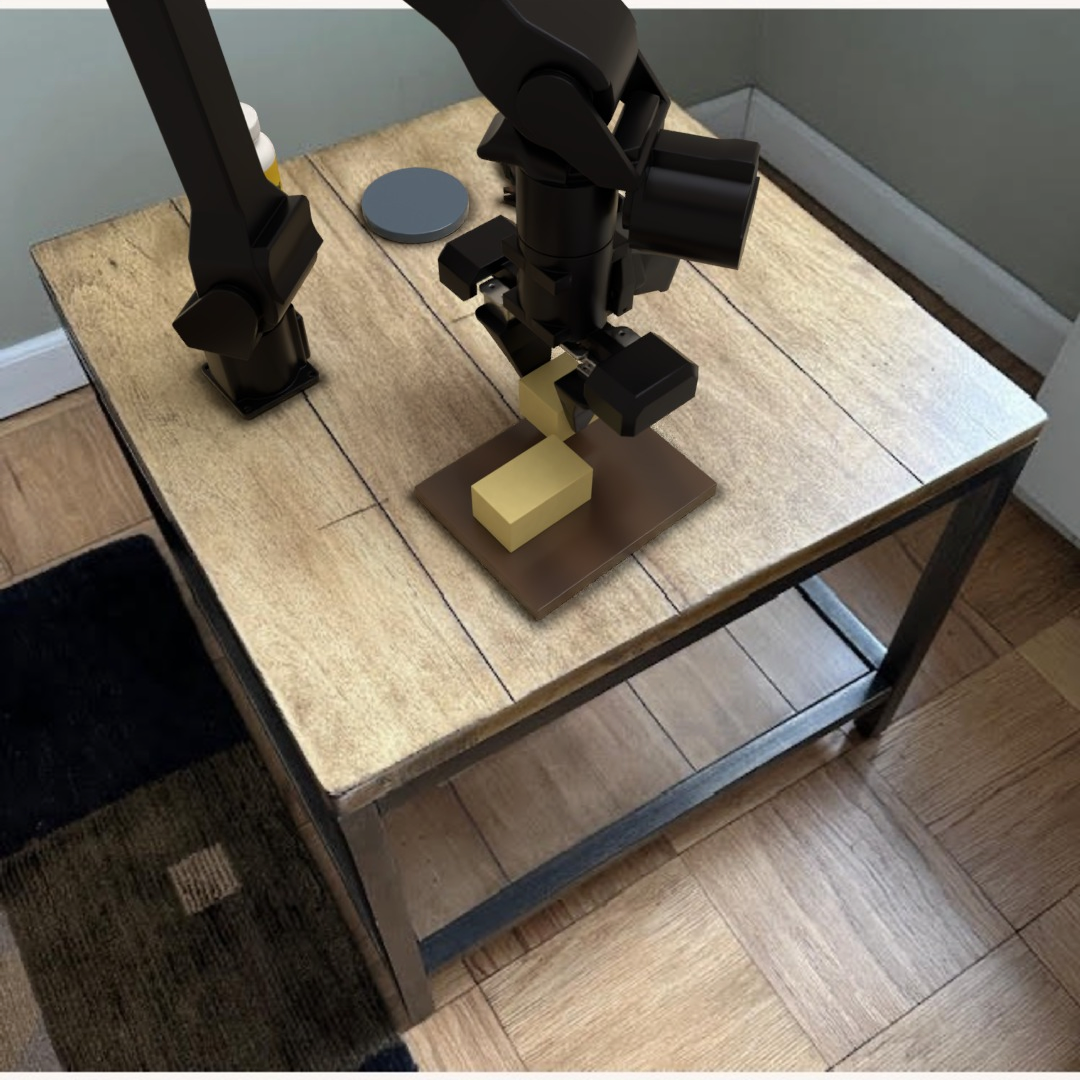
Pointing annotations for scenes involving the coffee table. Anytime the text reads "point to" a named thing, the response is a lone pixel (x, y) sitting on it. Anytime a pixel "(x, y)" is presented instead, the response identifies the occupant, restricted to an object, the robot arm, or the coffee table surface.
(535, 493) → the butter stick
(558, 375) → the butter pat
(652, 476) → the board
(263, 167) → the pill bottle
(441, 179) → the plate
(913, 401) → the coffee table surface
